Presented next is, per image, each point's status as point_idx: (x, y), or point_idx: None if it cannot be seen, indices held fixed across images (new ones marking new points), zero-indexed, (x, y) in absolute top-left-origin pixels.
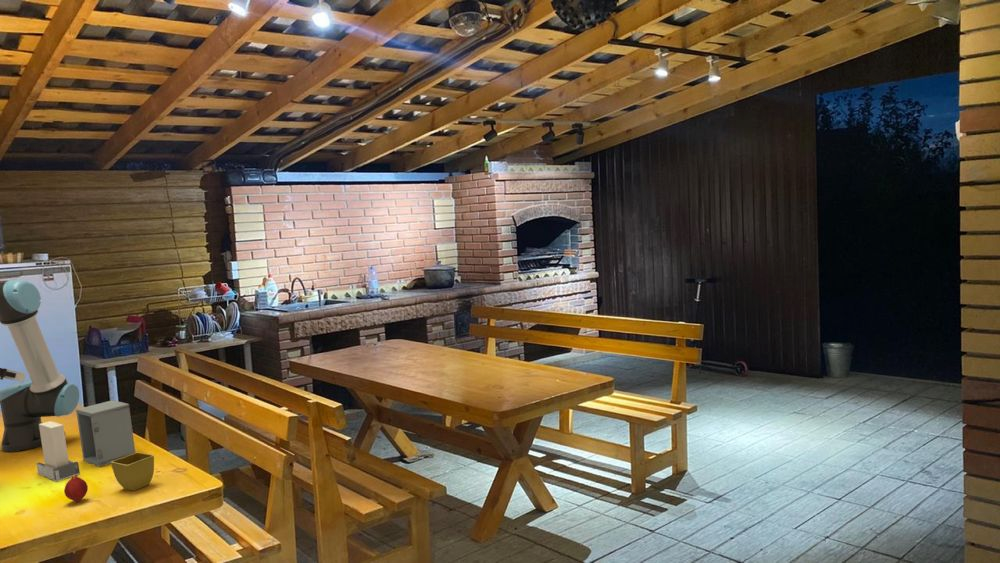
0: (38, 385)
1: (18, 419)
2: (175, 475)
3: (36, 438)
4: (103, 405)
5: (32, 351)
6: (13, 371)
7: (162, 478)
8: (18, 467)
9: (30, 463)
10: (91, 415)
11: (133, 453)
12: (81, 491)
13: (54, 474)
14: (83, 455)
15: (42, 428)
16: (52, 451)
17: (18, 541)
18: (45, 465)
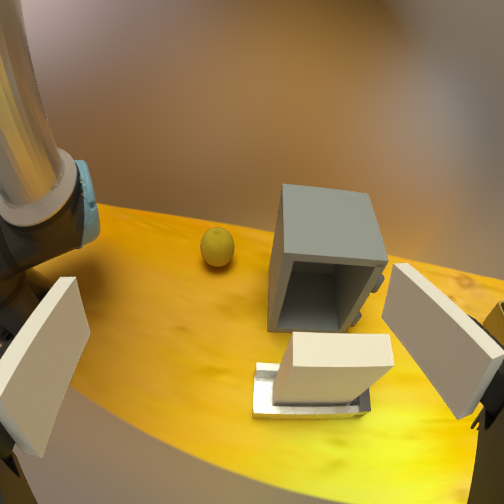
0: (33, 203)
1: (4, 291)
2: (481, 295)
3: (41, 298)
4: (320, 212)
5: (13, 98)
6: (460, 314)
7: (482, 309)
8: (145, 410)
9: (145, 384)
10: (383, 264)
11: (500, 307)
12: None
13: (359, 414)
14: (273, 325)
15: (318, 371)
16: (350, 391)
17: None
18: (300, 409)
